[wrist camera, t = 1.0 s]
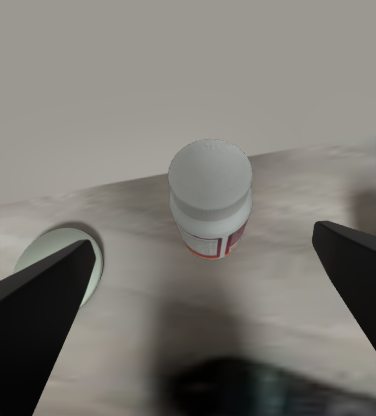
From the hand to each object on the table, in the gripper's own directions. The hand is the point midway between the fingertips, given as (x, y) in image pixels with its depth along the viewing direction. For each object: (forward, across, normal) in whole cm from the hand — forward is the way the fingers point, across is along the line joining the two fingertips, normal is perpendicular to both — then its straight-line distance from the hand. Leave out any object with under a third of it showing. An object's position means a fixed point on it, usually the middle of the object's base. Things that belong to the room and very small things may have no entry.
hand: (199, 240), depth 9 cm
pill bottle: (+13, -1, +8) cm, 15 cm away
